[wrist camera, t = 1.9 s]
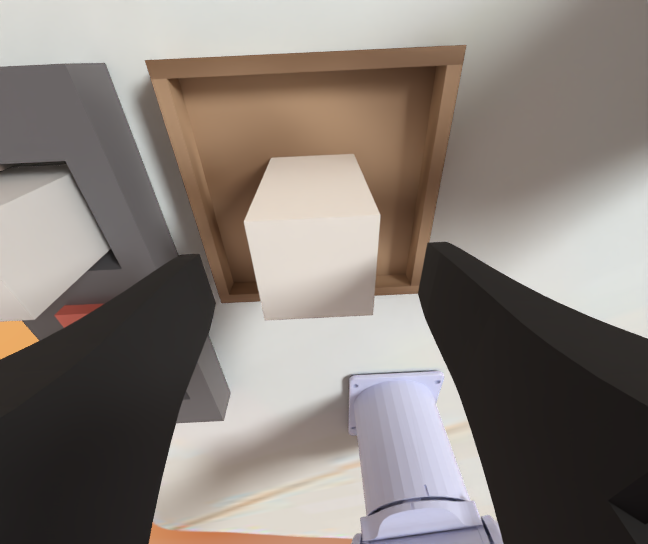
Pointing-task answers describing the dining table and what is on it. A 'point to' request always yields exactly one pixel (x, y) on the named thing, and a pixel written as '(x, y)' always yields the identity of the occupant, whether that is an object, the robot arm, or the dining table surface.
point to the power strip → (98, 197)
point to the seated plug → (43, 238)
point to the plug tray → (311, 142)
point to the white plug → (314, 238)
